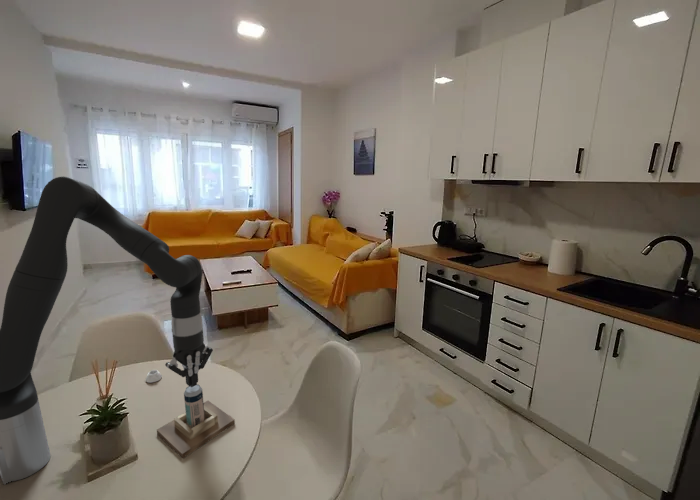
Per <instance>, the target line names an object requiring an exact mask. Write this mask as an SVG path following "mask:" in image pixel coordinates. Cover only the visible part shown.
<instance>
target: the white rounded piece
mask: <svg viewBox="0 0 700 500" xmlns="http://www.w3.org/2000/svg"><path fill="white" fill-rule="evenodd" d="M161 379H162V374H161V372H160V371H159V370H158V369H152V370H150V371H148V373H147V375H146V377H145V382H147V383H155V382H159V380H161Z"/></svg>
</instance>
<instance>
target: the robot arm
mask: <svg viewBox="0 0 700 500" xmlns="http://www.w3.org/2000/svg"><path fill="white" fill-rule="evenodd" d="M75 219H79V220H81V221H83V222H86V223H87V224H90V225H92V226H93V227H96V228H98V229H99V230H101V231H102V232H104V233H105V234H106V235H108V237H110V238H111V239H112V240H113V241H114V242H115V243H116V244H117V245H118V246H119V247H121V248H122V249H123V250H124V251H126V252H127V253H129V254H130V255H132V256H133V257H135V258H136V259H138V260H139V261H140V262H142V263H144V264H145V265H146V266H148V268H149V269H150V271H152V273H154V274H155V276H157V278H158V279H159V280H160V281H161V282H162V283H164V284H165V285H167V286H169V287H173V288H175V291H174V292H173V293H172V295H171V296H170V311H171V312H170V313H171V322H170V323H171V334H172V342H173V350H174V352H173V353H172V354H173V355H172V357H173V358H172V359H171V360H170V361H167V362H166V363H165V367H166V368H167V369H169V370H171V371H172V372H174V373H175V374H177V375H178V376H180V377H182V378H185V384H186V385H187V387H188V386H190V387H193V386H195V385H197V384H198V382H199V371H200V370H203V369H204V368H205V366H206V364H207V362H208V360H209V358H210V356H211V355H212V353H213V351H214V350H213V348H212V347H210V346H208V345H206V344H205V343H204V341H205V339H204V328H203V327H204V325H203V317H202V314H201V312H202V311H201V302H200V293H201V288H202V279H203V268H202V264H201V263H200V261H199V260H198V258H197V257H195V256H193V255H191V254H185V255H181V256H179V257H177V258H174V256H172V255H171V254H170V253H169V252H170V246H169V245H168V243H166V242H165V241H164V240H162V239H160V238H159V237H158V236H156V235H154V233H152V232H150V231H148V230H147V229H145V228H144V227H142V226H141V225H139V224H138V223H136V222H134V221H133V220H132V219H130V218H128V217H127V216H125V214H122V213H121V212H120V211H119V210H118V209H116V208H115V207H114V206H113V205H112V204H110V202H108V201H107V200H106V199H105V198H104V197H103V196H102V195H101V194H100V193H99V191H97V190H96V189H95V188H93V187H92V186H90V185H89V184H87V183H84V182H82V181H79V180H78V179H75V178H72V177H70V176H58V177H55V178H52V179H50V181H48V182H47V183H46V185H44V188H43V190H42V192H41V194H40V198H39V199H38V205H37V208H36V212H35V217H34V220H33V223H32V227H31V230H30V233H29V235H28V238H27V240H26V243H25V245H24V248H23V250H22V254H21V256H20V257H19V260H18V262H17V264H16V267H15V269H14V271H13V274H12V277H11V278H10V281H9V284H8V287H7V290H6V294H5V299H4V304H3V311H2V319H1V320H2V321H1V324H0V479H1V480H2V484H3V485H7V484H8V482H9V483H11V481H12V482H15V481H20V480H23V479H25V478H28V477H30V476H32V475H34V474H36V473H38V472H39V471H40V470H42V468H44V467H45V466H46V465H47V464H48V462H49V461H50V459H51V452H50V451H51V450H50V447H49V443H48V438H47V433H46V428H45V425H44V419H43V415H42V410H41V409H42V408H41V405H40V401H39V396H38V391H37V388H36V386H35V383H34V380H33V376H32V370H33V366H34V362H35V358H36V354H37V350H38V347H39V342H40V339H41V336H42V333H43V330H44V328H45V326H46V324H47V322H48V319H49V317H50V315H51V313H52V310H53V307H54V306H55V303H56V300H57V299H58V296H59V293H60V292H61V289H62V286H63V284H64V281H65V279H66V276H67V273H68V267H69V266H68V251H67V241H68V235H69V232H70V230H71V227H72V224H73V223H74V220H75ZM178 363H180V364H181V365H182V367H183V368H182V369H183V370H182V369H180V368H179V366H178V365H179V364H178ZM6 483H7V484H6Z"/></svg>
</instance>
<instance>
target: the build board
mask: <svg viewBox="0 0 700 500" xmlns="http://www.w3.org/2000/svg"><path fill="white" fill-rule="evenodd" d="M203 403H204V415H205V421H203V422H201V423H200V424H198V425H196V426H195V427H193V428H192V429H191V428H190V427H188V426H187V419H186V411H185V412H184V413H182V414H180V415H179V416H176V417H175V418H173V420H171V421H170V422H167V423H166V424H165V425H162V426H161V427H159V428H157V429H156V434H157V436H159V438H161V439H162V440H163V441H164V442H165V443H166V444H167V445H168V446H169V447H170V448H171V449H172V450H173V451H174V452H175V453H176V454H177V455H178V456H179V457H180V458H182V459H185V458H186V457H189V455H191V454H192V453H194V452H195V451H196V450H198V449H199V448H201V447H202V446H204V445H206V444H207V443H209V441H211V440H213V439H214V438H216V437H217V436H219V435H220V434H222V433H223V432H225V431H227V429H229V428H231V427H232V426H233V425H235V423H236V420H235V419H234V418H233V417H232V416H230V415H229V414H228V413H227V412H225V411H223V410H222V409H221V408H219V407H218V406H217V405H215V404H214V403H212V402H211V401H209V400H206V401H203Z"/></svg>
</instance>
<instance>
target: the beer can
mask: <svg viewBox="0 0 700 500" xmlns="http://www.w3.org/2000/svg"><path fill="white" fill-rule="evenodd" d="M183 399H184V407H185V412H186V419H187V426H188V427H190V428H191V429H192V428H193V427H195V426H196V425H198V424H200V423H201V422H203V421H205V415H204V393H203V387H201V386H200V385H199V384H198V383H197V385H195V386H193V387H190V386H188V385H187V387H186V388H185V390H184V392H183Z"/></svg>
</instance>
